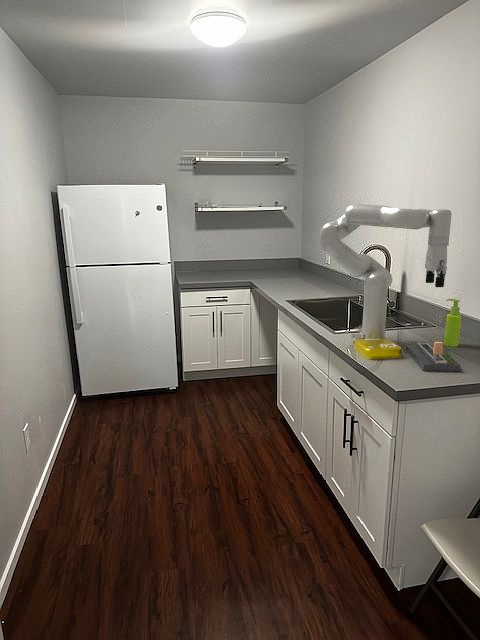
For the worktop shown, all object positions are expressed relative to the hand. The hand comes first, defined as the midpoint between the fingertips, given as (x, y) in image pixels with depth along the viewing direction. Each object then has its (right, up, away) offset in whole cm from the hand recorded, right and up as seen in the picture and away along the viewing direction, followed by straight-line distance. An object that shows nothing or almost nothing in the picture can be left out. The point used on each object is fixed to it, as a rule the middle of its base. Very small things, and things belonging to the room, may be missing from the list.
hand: (434, 284), depth 182 cm
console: (-3, -30, -4) cm, 30 cm away
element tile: (-22, -28, +5) cm, 36 cm away
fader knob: (-4, -29, -11) cm, 31 cm away
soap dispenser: (+13, -25, +15) cm, 32 cm away
